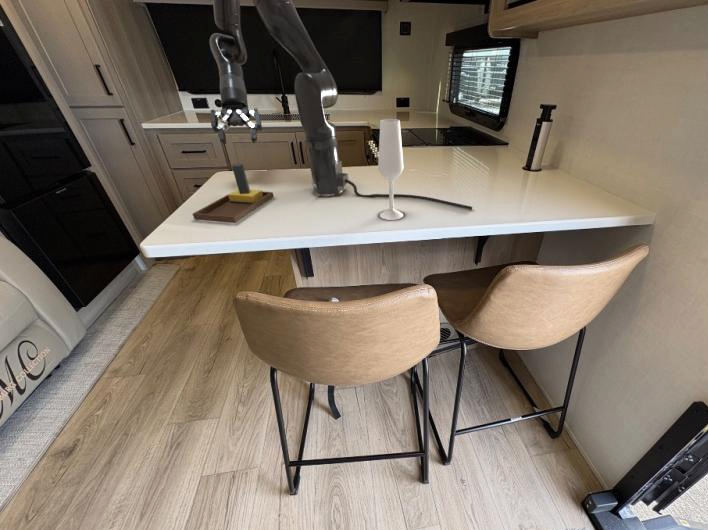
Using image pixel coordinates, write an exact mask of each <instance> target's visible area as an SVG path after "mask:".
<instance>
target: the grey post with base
mask: <svg viewBox="0 0 708 530" xmlns="http://www.w3.org/2000/svg"><path fill="white" fill-rule="evenodd" d="M231 168H232V172H233V175H234V178H235V182H236V185H237V189H235V190H234V191H232V192H229V193H228V194H227V195H228V196H229V200H230V203H238V204H253V203H254V202H256V201H257V200H259V199H260V198H262V197H263V194H262V192H263V190H261V189H250V185H249V181H248V179H247V174H246V170H245V167H244V163H233V164H232V166H231Z"/></svg>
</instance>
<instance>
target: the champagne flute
mask: <svg viewBox="0 0 708 530" xmlns="http://www.w3.org/2000/svg"><path fill="white" fill-rule="evenodd" d="M378 140H379V143H378V161H377V169H378V171H379V174H380V175H381V176H382V177H383V178H384V179H385V180H387V181H388V194H389V197H388V205H389V206H388V207H389V208H388V209H386V210H385V211H383V212H381V213H380V215H379V217H380V218H381V219H383V220H387V221H395V220H400V219H402V218H403V217H404V214H403V213H402V212H400V211H398V210H397V209H395V207H394V206H395V205H394V203H395V202H394V197H393V194H394V181H395V180H397V179H398V178H399V176H401V174H402V173H403V171H404V156H403V155H404V154H403V145H402V131H401V121H400V119H395V118H386V119H380V122H379V139H378Z"/></svg>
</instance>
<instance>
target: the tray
mask: <svg viewBox="0 0 708 530" xmlns="http://www.w3.org/2000/svg"><path fill="white" fill-rule="evenodd" d="M262 194H263V197H262V198H260V199H259V200H257V201H256V202H254V203H253V204H238V203H230V200H229V196H228V194H226V195H224V196H223V197H221V198H219V199H217V200H215V201H213V202H211V203H210V204H208V205H206V206H204V207H202V208H200V209H199V210H196V211H195V212H193V213H192V216H193V219H194V220H198V221H199V220H200V221H208V222H221V223H232V224H236V223H238V222H239V221H241V220H242V219H244V218H245V217H247V216H249V215H250V214H251V213H253V212H254V211H255V210H257V209H258V208H260V207H261V206H263V205H265V204H266V203H267V202H269V201H271V200H272V199H274V198H275V195H274V192H273V191H262Z"/></svg>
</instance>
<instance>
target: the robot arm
mask: <svg viewBox="0 0 708 530" xmlns="http://www.w3.org/2000/svg"><path fill="white" fill-rule="evenodd" d="M252 2H253V5H254V8H255V9H256V12H257V13H258V14H259V17H260V18H261V21H262V22H263V24H264V26H265V28H266V29H267V31H268V33H269V34H270V35H271V36H272V37H273V39H275V41H276V42H278V44H279V45H280V46H281V47H282V48H283V49H284V50H286V52H287V53H289V55H290V56H292V58H293V59H294V60H295V62H297V64H298V66H299V67H300V69H301V71H302V72H299V73H297V75H296V77H295V79H294V83H293V84H294V85H293V87H294V90H293V91H294V97H295V102H296V107H297V112H298V117H299V121H300V125H301V127H302V129H303V131H304V135H305V142H306V143H305V144H306V148H307V155H308V162H309V167H310V174H311V180H312V182H311V186H312V187H313V194H314V195H317V196H319V197H335V196H336V197H338V196H340V195H341V194H342V193H343V192H344V191H345V187H346V185H347V184H349V185H350V186H352V187H353V192H354V194H355V195H356V196H357V197H359V198H361V197H362V198H389V193H373V194H372V193H371V194H361V193H359V192H358V187H357V185H356V184H355V183H354V182H352V181H351V180H349V174H348V173H347V172H343V163H342V160H340V156H339V147H338V146H339V145H338V138H337V128H336V125H335V124H334V123H332V122H330V121H328V120H327V119H326V116H325V111H324V110H325V109H329V108H332V107H334V106H335V105H336V104H337V102H338V97H339V96H338V95H339V92H338V87H337V83H336V81H335V79H334V77H333V75H332V73H331V72H330V70H329V68H328V67H327V65H326V64H325V62H324V60H323V59H322V57H321V55H320V53H319V52H318V49H316V46H315V45H314V43H313V41H312V39H311V37H310V35H309V33H308V31H307V30H306V28H305V26H304V24H303V22H302V20H301V17H300V16H299V14H298V12H297V9H296V7H295V5H294V3H293V0H252ZM212 5H213V17H214V23H215V25H216V27H217V28H218V29H219V30H220V31H222V32H224V33H226V34H222V33H218V32H214V33H213V34H211V36H210V38H209V48H210V51H211V54H212V56H213V58H214V60H215V62H216V65H217V68H218V75H219V93H220V105H221V110H220V111H216V110H215V109H211V110H210V126H211V128H212V130H213V131H214V133H218V139H219V140H220V142H221V143H222V144H223V145H227V136H226V132H227V130H230V128H232V127H244V126H245V127H246V128H248V129H249V131H250V139H251V142H252V143H253V144H256V142H257V141H258V135H257V132H258V131H261V132H262V130H263V124H262V120H261V114H260V111H259V109H258V108H257V107H256V108H253V110H249V105H248V104H249V103H248V92H247V89H246V85H245V76H244V70H243V67H242V65H244V64H245V63H246V62H247V59H248V52H247V51H248V50H247V47H246V44H245V41H244V40H245V39H244V37H243V33H242V24H241V2H240V0H212ZM227 34H228V35H227ZM221 117H222V118H221ZM251 117H252V118H253V119H255V123H253V122H252V121H251V120H250V118H251ZM219 121H220V123H219ZM393 198H405V199H416V200H417V199H418V200H423V201H424V200H425V201H429V202H435V203H438V204H444V205H448V206H453V207H457V208H461V209H466V210H470V211H471V210H473V206H470V205H466V204H462V203H457V202H452V201H447V200H444V199H439V198H435V197H429V196H423V195H416V194H405V193H404V194H402V193H393Z"/></svg>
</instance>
